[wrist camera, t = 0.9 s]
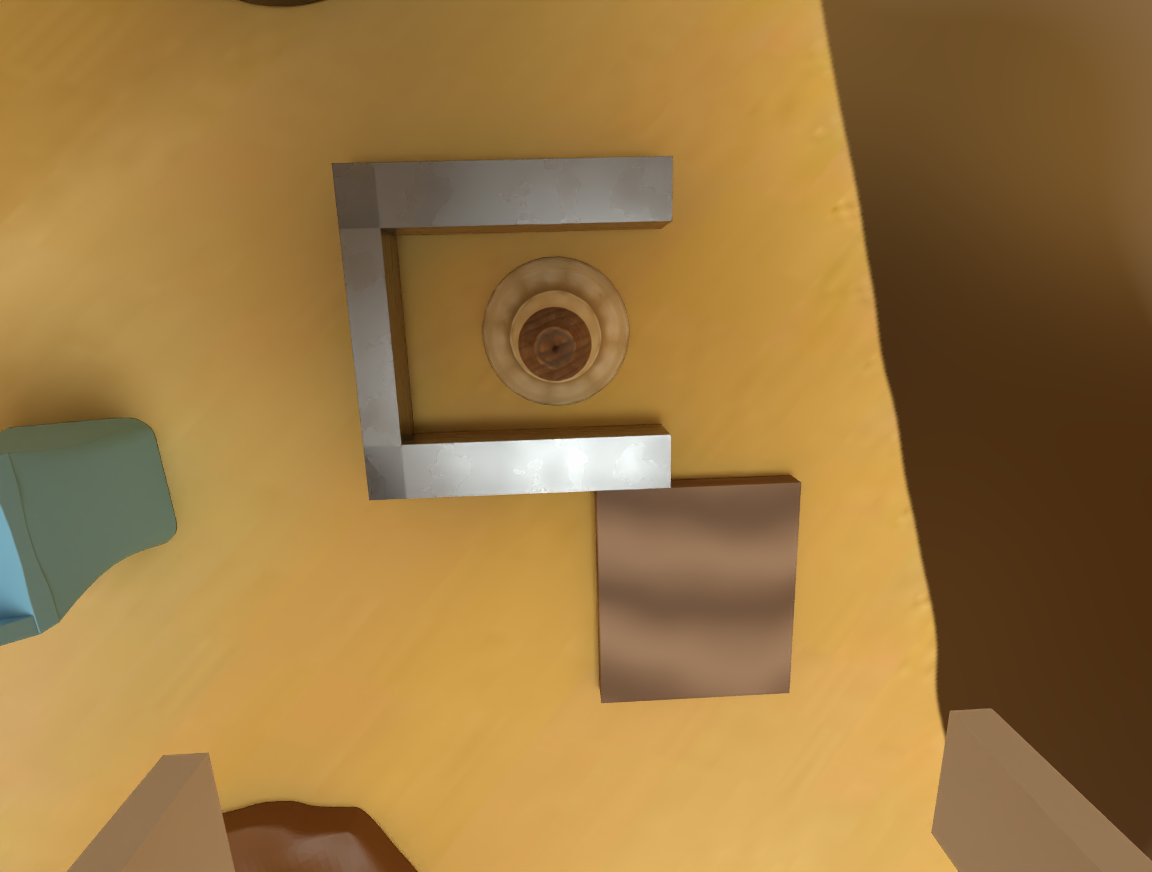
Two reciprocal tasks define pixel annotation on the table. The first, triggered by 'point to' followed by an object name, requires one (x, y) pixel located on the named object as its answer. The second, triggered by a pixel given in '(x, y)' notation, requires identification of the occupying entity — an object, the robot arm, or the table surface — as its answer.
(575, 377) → the hand bell
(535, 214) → the silver c-shaped bracket
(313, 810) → the plant
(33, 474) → the light blue holder
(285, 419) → the table surface
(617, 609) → the walnut board
